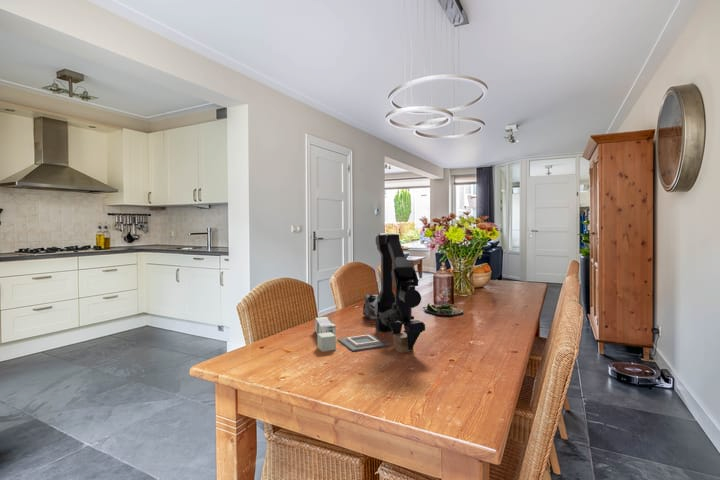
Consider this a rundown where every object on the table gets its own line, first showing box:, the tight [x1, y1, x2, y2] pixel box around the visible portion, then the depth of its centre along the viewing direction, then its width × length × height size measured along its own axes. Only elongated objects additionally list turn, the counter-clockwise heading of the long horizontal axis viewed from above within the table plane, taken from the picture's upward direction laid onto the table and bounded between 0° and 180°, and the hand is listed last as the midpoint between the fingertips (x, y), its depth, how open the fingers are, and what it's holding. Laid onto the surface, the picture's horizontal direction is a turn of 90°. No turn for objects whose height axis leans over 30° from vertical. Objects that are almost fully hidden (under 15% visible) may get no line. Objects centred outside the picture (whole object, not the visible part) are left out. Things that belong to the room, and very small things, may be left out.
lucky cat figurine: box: [362, 294, 379, 321], centre depth 175 cm, size 15×12×14 cm
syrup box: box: [314, 316, 337, 336], centre depth 147 cm, size 6×6×14 cm
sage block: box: [316, 332, 337, 352], centre depth 132 cm, size 5×5×5 cm
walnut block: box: [392, 332, 414, 353], centre depth 131 cm, size 5×5×5 cm
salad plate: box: [422, 302, 464, 318], centre depth 187 cm, size 19×18×5 cm
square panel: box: [337, 333, 390, 353], centre depth 138 cm, size 14×14×1 cm
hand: (403, 345), depth 131 cm, fingers open, 9 cm apart
